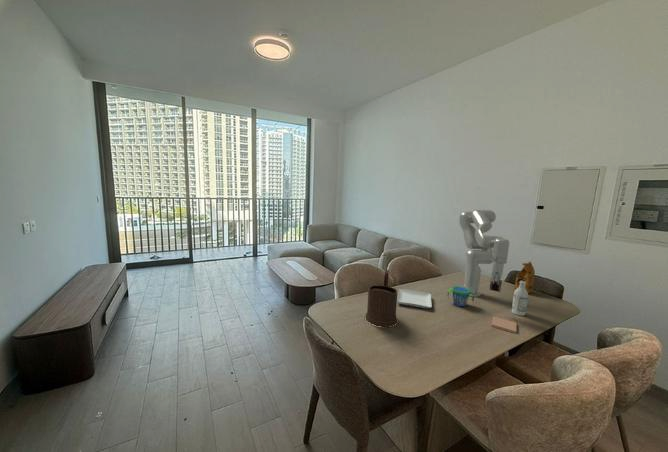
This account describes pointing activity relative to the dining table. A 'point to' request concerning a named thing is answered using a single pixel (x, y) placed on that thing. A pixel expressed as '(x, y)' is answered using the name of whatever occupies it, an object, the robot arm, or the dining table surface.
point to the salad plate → (414, 298)
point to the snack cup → (460, 295)
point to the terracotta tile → (504, 324)
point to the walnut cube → (499, 285)
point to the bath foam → (520, 299)
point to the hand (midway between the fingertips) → (495, 288)
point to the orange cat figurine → (526, 277)
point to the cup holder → (382, 304)
